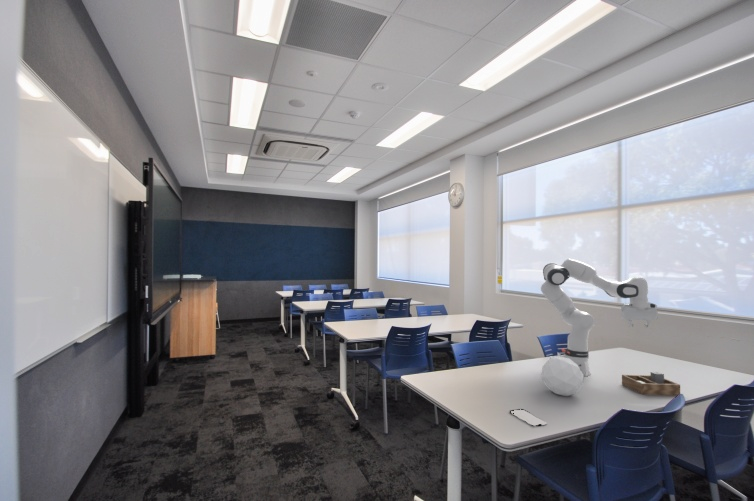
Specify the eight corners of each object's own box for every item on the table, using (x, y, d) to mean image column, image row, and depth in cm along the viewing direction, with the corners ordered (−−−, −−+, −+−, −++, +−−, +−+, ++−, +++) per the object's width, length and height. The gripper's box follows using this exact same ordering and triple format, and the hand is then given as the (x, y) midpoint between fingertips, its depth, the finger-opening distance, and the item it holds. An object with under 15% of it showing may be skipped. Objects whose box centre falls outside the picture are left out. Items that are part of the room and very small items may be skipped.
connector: (655, 390, 188) (655, 374, 188) (650, 388, 192) (650, 371, 192) (664, 391, 188) (664, 374, 188) (658, 388, 192) (658, 372, 192)
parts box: (642, 395, 182) (642, 383, 183) (622, 385, 197) (621, 374, 198) (680, 396, 182) (680, 384, 183) (657, 386, 197) (657, 375, 198)
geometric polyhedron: (572, 410, 178) (591, 387, 166) (532, 391, 185) (547, 367, 173) (574, 383, 192) (591, 360, 181) (537, 365, 199) (551, 342, 187)
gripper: (625, 304, 207) (625, 327, 206) (659, 305, 207) (659, 328, 206) (617, 303, 213) (618, 326, 213) (651, 303, 213) (651, 326, 212)
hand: (638, 327), depth 209 cm, fingers open, 8 cm apart
